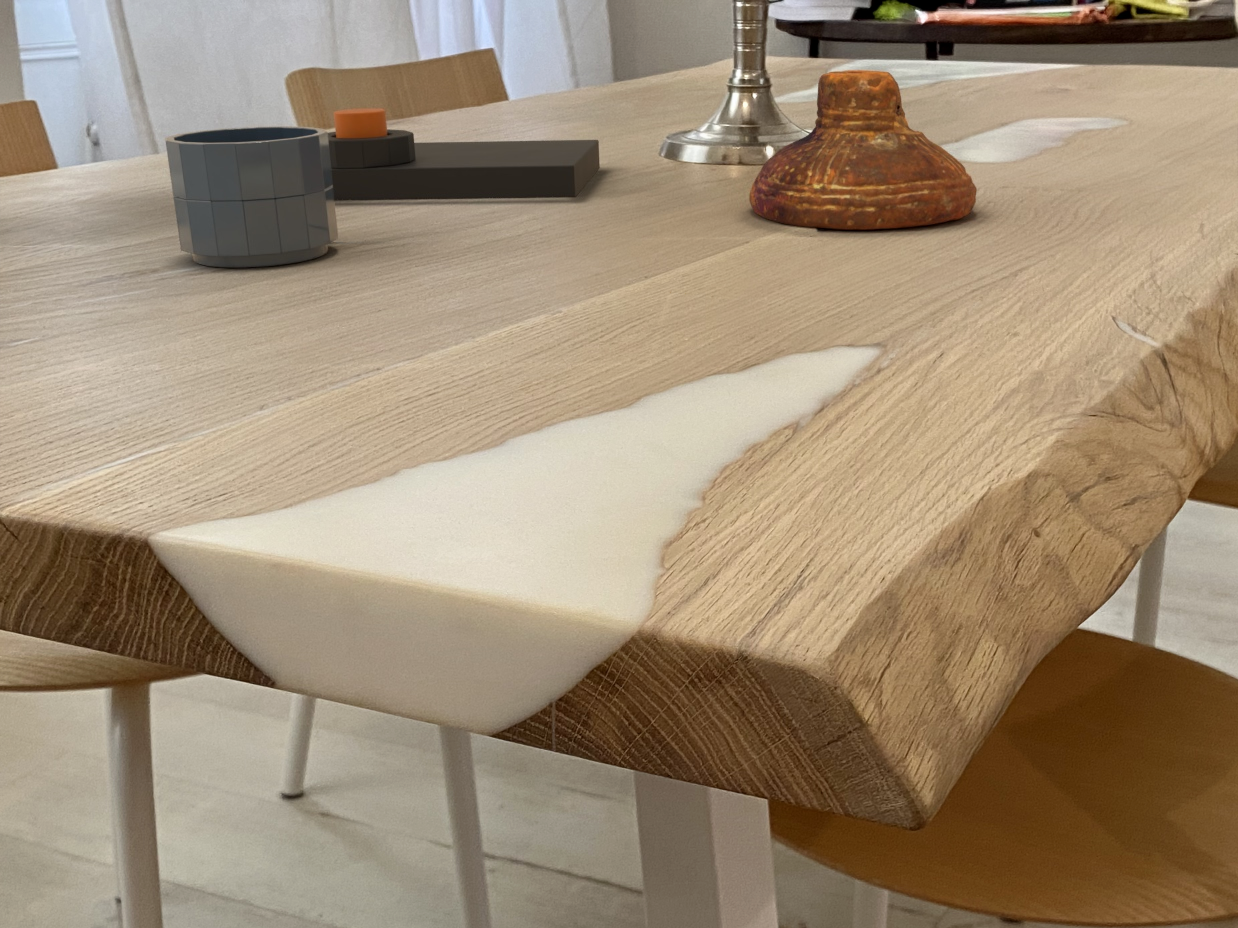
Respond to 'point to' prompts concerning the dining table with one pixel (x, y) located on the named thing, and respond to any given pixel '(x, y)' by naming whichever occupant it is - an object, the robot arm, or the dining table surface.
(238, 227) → the blue-grey cup
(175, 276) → the dining table surface
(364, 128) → the button
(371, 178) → the scale
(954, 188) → the bell
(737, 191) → the dining table surface
